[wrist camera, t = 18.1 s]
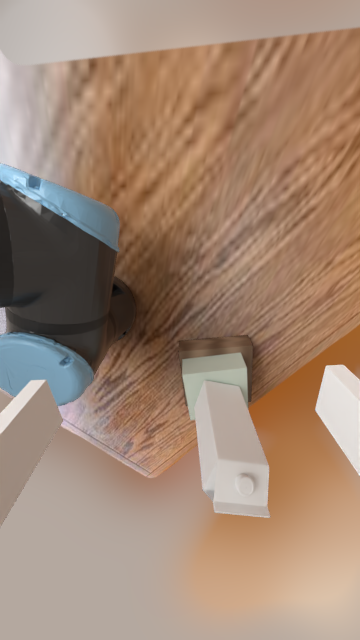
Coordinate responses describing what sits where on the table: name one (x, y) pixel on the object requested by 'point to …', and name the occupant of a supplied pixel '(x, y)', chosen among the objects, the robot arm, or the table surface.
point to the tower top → (213, 375)
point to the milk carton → (230, 452)
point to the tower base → (219, 352)
